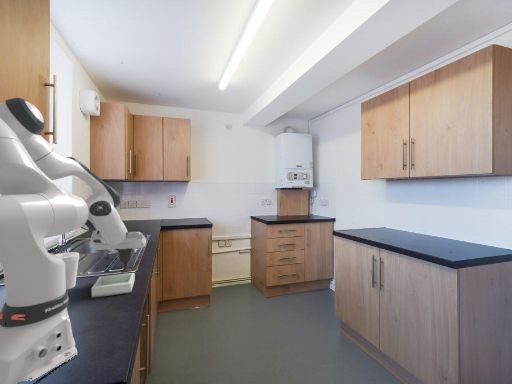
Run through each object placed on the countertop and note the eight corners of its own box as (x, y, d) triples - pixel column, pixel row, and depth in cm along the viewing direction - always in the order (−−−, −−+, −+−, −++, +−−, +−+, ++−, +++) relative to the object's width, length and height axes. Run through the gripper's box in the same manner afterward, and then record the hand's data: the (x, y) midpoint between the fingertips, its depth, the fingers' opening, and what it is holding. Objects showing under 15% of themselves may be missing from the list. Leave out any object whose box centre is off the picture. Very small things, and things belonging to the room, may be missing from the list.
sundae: (137, 268, 118) (136, 235, 117) (126, 273, 111) (124, 238, 111) (125, 267, 119) (124, 235, 119) (113, 272, 113) (112, 238, 112)
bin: (130, 292, 100) (130, 283, 100) (91, 297, 96) (91, 288, 96) (134, 280, 112) (134, 272, 112) (100, 284, 108) (100, 276, 108)
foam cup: (65, 292, 101) (64, 259, 100) (44, 291, 102) (43, 258, 102) (85, 283, 110) (84, 252, 110) (65, 282, 111) (65, 251, 111)
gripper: (143, 225, 109) (151, 244, 119) (91, 227, 107) (103, 246, 117) (139, 238, 104) (148, 256, 114) (85, 240, 102) (98, 258, 112)
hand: (125, 251), depth 116 cm, fingers closed on sundae, 6 cm apart
